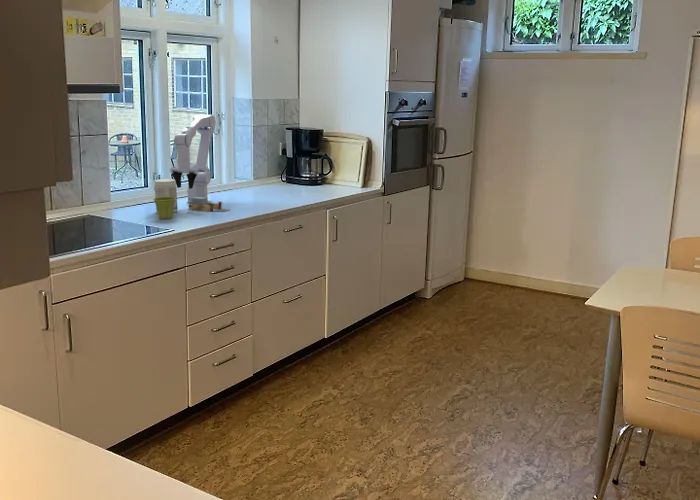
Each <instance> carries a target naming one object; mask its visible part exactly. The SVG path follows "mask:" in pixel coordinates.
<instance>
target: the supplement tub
mask: <svg viewBox="0 0 700 500" xmlns="http://www.w3.org/2000/svg"><path fill="white" fill-rule="evenodd" d="M154 195H155V196H154V198H159V197H174V198H176V199H175V202H174V209H173V214H174V213H176V212H178V197H177V196H178V194H177V185H176V182H175V179H174V178H173V179H172V178H163V179H156V180H154ZM155 209H156V212H157V208H156V207H155Z"/></svg>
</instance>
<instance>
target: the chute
mask: <svg viewBox="0 0 700 500" xmlns="http://www.w3.org/2000/svg"><path fill="white" fill-rule="evenodd" d="M222 207H223V206H222V201H218V203H216V202H208V205H197V204H192V203H188V210H190V211H202V212H214V209H215V210H217V209H223V208H222Z"/></svg>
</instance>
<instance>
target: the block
mask: <svg viewBox="0 0 700 500" xmlns="http://www.w3.org/2000/svg"><path fill="white" fill-rule="evenodd" d="M208 200H209V198H205V197H194V198H191V201H192V203H191V204H197V205H208V203H209V202H208Z"/></svg>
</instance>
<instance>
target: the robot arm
mask: <svg viewBox="0 0 700 500" xmlns="http://www.w3.org/2000/svg"><path fill="white" fill-rule="evenodd" d="M216 123H217V122H216V117H215V116H214V114H197V113H196V114H195V113H194V116H192V122H191V124H190V125H186V126H185V128H184V129H182V131H181V132H180V133H177V134H175V136H174V138H173V139H174V140H173V141H174V142H173V143H174V145H175V149H176V156H177V157H176V158H177V167H170V168H169V172H170V173H171V176H172V178H173V179H174V180H175V182H176V189H178V188H182V175H183V174H186V177H187V181H188V185H187V190H186V191H187V201H186V203H188V204H192V201H191V198H194V197H205V198H208V196H209V195H208V185H209V184H210V182H211V179H212V177H211V175H212V173H211V169H210V168H209V167H208V166H207V164H208V158H209V152H210V147H211V145H210V144H211V141H212V135H213V134H214V133H215V130H216V125H217V124H216ZM197 133H198V134H200V140H199V145H198V150H197V151H198V152H197V157H196V161H195V162H196V163H195V164H194V165H193V166H192V167H191V155H190V154H191V153H190V150H191V149H190V146H191V145H192V142H193V138H194V137H195V136H197ZM208 203H212V200H209V198H208Z"/></svg>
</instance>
